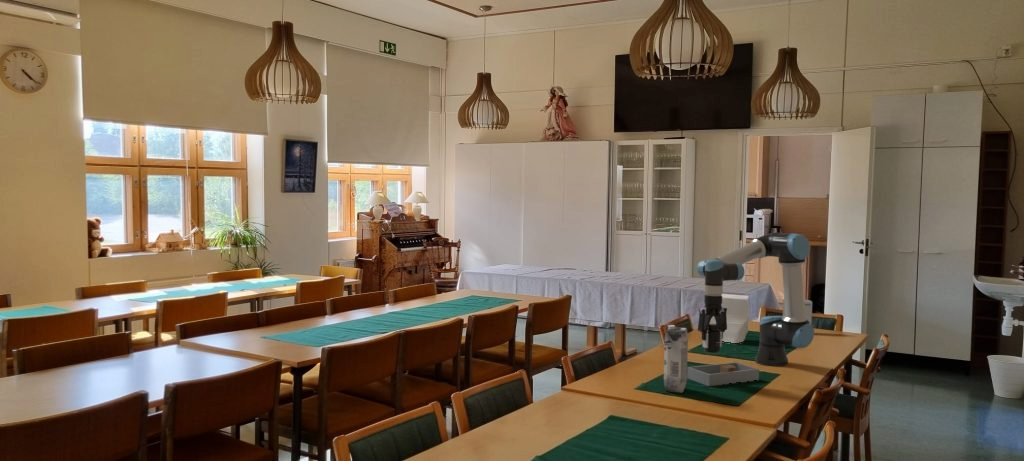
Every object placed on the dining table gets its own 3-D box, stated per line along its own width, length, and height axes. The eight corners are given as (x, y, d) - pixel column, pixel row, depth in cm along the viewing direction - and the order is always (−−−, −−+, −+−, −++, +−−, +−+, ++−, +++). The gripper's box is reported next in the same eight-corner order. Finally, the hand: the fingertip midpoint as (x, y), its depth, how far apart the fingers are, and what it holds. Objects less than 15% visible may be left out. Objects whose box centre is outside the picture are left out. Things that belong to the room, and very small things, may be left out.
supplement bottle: (720, 353, 313) (721, 326, 313) (704, 352, 314) (705, 325, 314) (719, 350, 320) (720, 323, 319) (703, 349, 321) (704, 322, 321)
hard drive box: (784, 333, 435) (785, 300, 434) (781, 331, 442) (782, 298, 442) (811, 334, 432) (812, 301, 431) (808, 332, 440) (809, 299, 439)
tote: (735, 372, 333) (736, 362, 333) (758, 380, 319) (759, 369, 319) (687, 378, 321) (687, 367, 321) (708, 386, 308) (709, 374, 308)
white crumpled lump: (744, 345, 395) (746, 299, 394) (697, 339, 411) (698, 295, 410) (756, 340, 412) (757, 295, 411) (710, 334, 428) (711, 291, 427)
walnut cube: (728, 375, 325) (729, 364, 325) (736, 378, 320) (736, 367, 320) (720, 376, 323) (720, 365, 323) (727, 379, 318) (728, 368, 318)
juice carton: (687, 387, 305) (688, 324, 304) (684, 394, 295) (686, 328, 294) (665, 385, 308) (667, 323, 307) (662, 391, 298) (664, 327, 297)
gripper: (725, 292, 324) (723, 343, 325) (689, 294, 315) (688, 346, 316) (737, 294, 317) (735, 346, 318) (700, 296, 309) (699, 350, 310)
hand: (712, 346), depth 317 cm, fingers closed on supplement bottle, 7 cm apart
